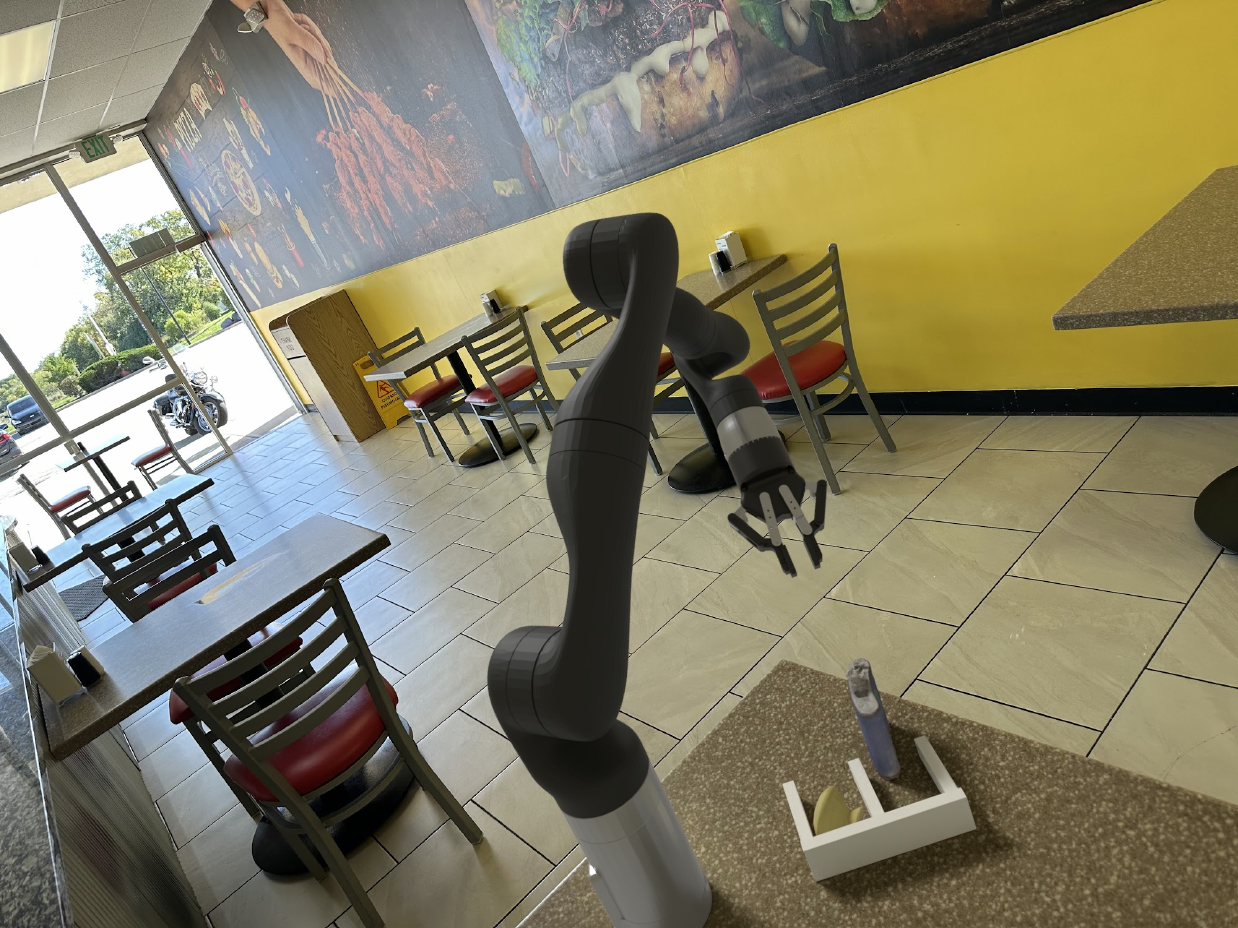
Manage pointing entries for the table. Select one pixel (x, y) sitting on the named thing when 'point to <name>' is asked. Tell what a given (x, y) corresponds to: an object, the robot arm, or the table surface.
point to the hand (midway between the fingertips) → (806, 570)
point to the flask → (872, 718)
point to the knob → (834, 812)
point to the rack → (884, 822)
